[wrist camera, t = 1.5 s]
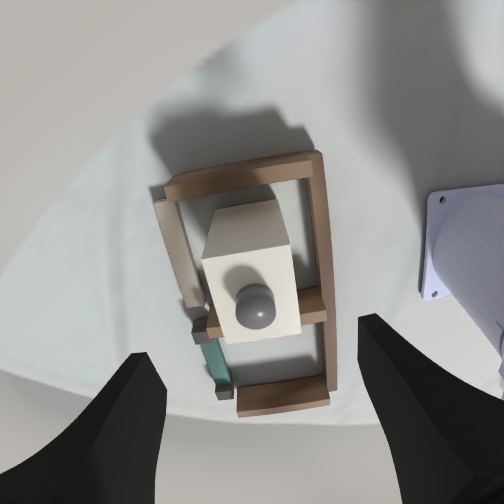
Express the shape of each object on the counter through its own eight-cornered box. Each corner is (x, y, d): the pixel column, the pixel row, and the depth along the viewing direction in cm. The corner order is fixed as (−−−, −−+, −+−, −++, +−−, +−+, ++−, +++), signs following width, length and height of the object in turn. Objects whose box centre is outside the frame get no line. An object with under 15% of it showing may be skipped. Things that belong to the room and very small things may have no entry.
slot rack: (317, 149, 17) (328, 157, 14) (334, 379, 24) (340, 402, 22) (151, 181, 17) (137, 193, 15) (222, 395, 25) (221, 419, 23)
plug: (277, 198, 18) (293, 256, 12) (288, 269, 20) (304, 348, 14) (215, 209, 18) (197, 272, 12) (231, 278, 20) (225, 359, 14)
